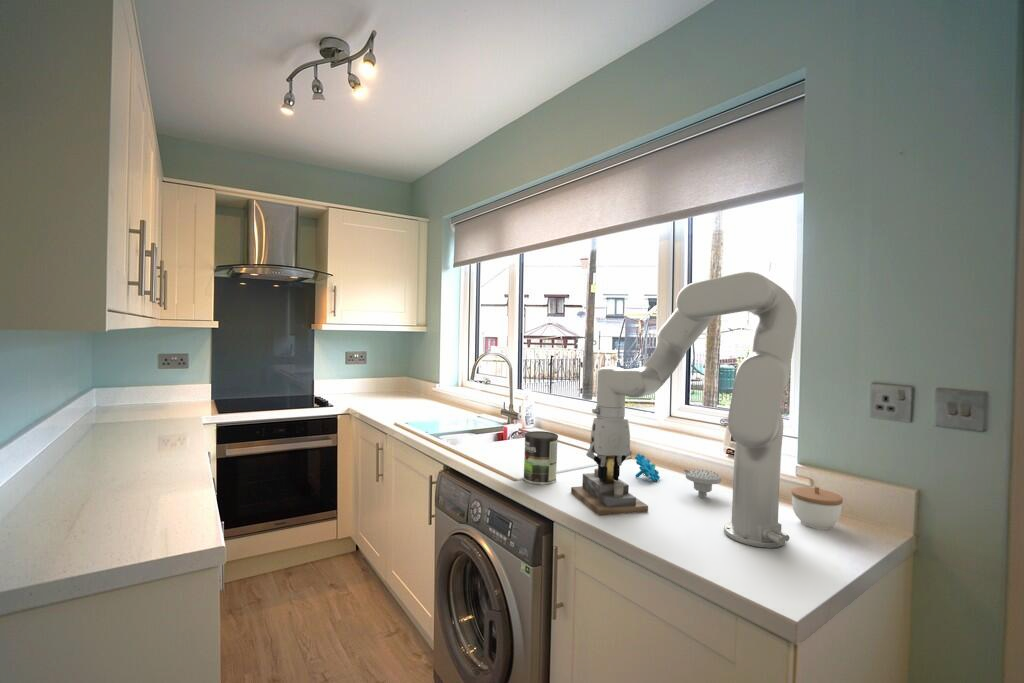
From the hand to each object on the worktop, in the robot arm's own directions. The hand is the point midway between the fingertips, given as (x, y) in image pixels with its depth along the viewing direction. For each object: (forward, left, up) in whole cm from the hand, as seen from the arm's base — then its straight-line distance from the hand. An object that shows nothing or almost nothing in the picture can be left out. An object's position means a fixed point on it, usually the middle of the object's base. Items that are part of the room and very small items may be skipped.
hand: (608, 479), depth 133 cm
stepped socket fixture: (0, 0, -6) cm, 6 cm away
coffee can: (+22, +12, -6) cm, 26 cm away
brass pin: (0, 0, -3) cm, 3 cm away
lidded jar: (-25, -44, -6) cm, 51 cm away
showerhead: (-1, -29, -6) cm, 30 cm away
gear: (+17, -22, -7) cm, 29 cm away
